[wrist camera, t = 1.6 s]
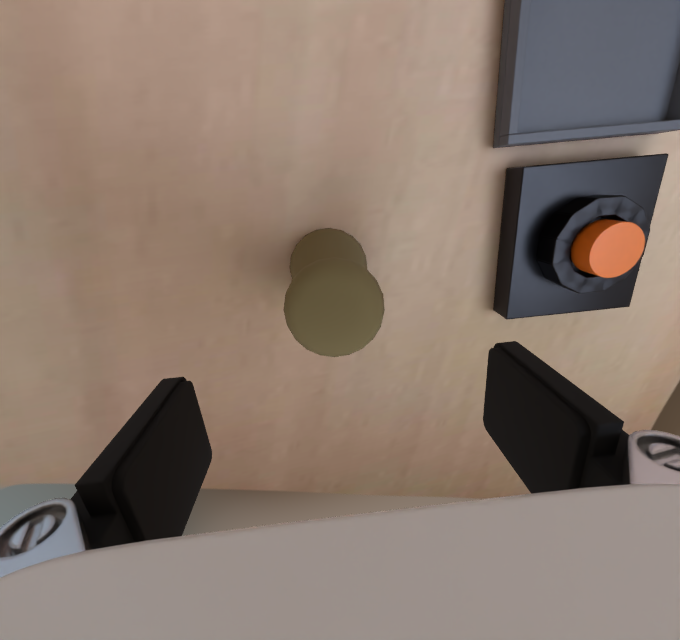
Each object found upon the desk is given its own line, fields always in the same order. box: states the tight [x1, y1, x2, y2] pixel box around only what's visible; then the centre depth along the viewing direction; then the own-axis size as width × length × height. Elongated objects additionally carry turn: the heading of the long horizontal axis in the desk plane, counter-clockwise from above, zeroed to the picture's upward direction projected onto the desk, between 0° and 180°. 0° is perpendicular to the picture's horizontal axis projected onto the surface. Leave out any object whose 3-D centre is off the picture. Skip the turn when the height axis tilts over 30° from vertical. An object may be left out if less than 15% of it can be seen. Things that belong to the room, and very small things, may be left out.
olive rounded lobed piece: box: [284, 228, 384, 357], centre depth 21 cm, size 6×6×11 cm
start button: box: [571, 219, 645, 278], centre depth 22 cm, size 4×4×2 cm
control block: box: [493, 154, 668, 319], centre depth 24 cm, size 11×10×4 cm
